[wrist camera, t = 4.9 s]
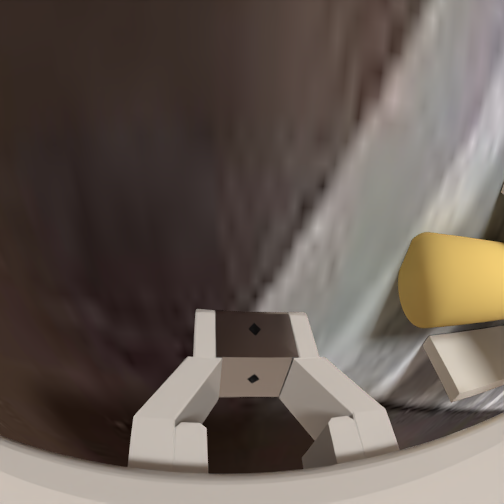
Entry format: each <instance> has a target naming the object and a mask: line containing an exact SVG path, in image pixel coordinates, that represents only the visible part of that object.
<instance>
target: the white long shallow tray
mask: <svg viewBox="0 0 504 504" xmlns="http://www.w3.org/2000/svg"><path fill="white" fill-rule="evenodd" d="M501 193H502V194H504V185H503V188H502V190H501ZM423 348H424V350H425V351H426V353H427V355H428V357H429V359H430V361H431V363H432V365H433V367H434V369H435V371H436V373H437V375H438V377H439V379H440V381H441V383H442V385H443V387H444V389H445V391H446V393H447V395H448V397H449V399H450V401H451V402H454V401H458V400H461V399H464V398H467V397H470V396H473V395H476V394H479V393H482V392H485V391H488V390H491V389H493V388H496V387H499V386H501V385H504V325H503V326H497V327H491V328H484V329H478V330H471V331H464V332H456V333H449V334H440V335H432V336H429V337H428V338H427V340H426V341H425V343H424V344H423Z"/></svg>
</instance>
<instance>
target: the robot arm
mask: <svg viewBox="0 0 504 504" xmlns="http://www.w3.org/2000/svg"><path fill="white" fill-rule="evenodd" d="M219 397H279V399H280V400H281V401H282V402H283V403H284V405H285V406H286V407H287V408H288V410H289V411H290V412H291V413H292V414H293V416H294V417H295V418H296V419H297V420H298V422H299V423H300V424H301V425H302V426H303V427H304V429H305V430H306V431H307V432H308V433H309V435H310V436H311V437H312V438H313V439H314V440H315V441H314V443H313V444H312V445H311V447H310V448H309V449H308V450H307V452H306V453H305V454H304V455H303V457H302V463H303V469H299V470H289V471H278V472H264V473H240V474H208V454H207V428H206V427H205V426H203V425H202V423H203V422H204V420H205V419H206V417H207V416H208V414H209V413H210V411H211V410H212V408H213V407H214V405H215V404H216V402H217V401H218V399H219ZM0 504H504V413H501V414H499V415H497V416H495V417H493V418H490V419H488V420H486V421H484V422H481V423H479V424H476V425H474V426H472V427H469V428H467V429H464V430H461V431H459V432H456V433H453V434H451V435H448V436H445V437H442V438H439V439H436V440H433V441H430V442H427V443H424V444H421V445H417V446H414V447H410V448H407V449H403V450H400V449H399V446H398V443H397V441H396V438H395V435H394V432H393V429H392V426H391V423H390V420H389V418H388V415H387V412H386V409H385V408H384V407H383V406H381V405H380V404H379V403H378V402H377V401H375V400H374V399H373V398H372V397H371V396H369V395H368V394H367V393H366V392H365V391H364V390H362V389H361V388H360V387H359V386H358V385H357V384H355V383H354V382H353V381H352V380H351V379H350V378H348V377H347V376H346V375H345V374H344V373H343V372H341V371H340V370H339V369H338V368H337V367H336V366H334V365H333V364H332V363H331V362H330V361H329V360H328V359H326V358H325V357H319V353H318V350H317V347H316V343H315V340H314V337H313V333H312V330H311V327H310V323H309V320H308V317H307V314H306V313H305V312H287V313H286V312H241V311H224V310H204V309H196V313H195V329H194V350H193V357H187V358H186V359H185V360H184V361H183V362H182V363H181V364H180V366H179V367H178V368H177V369H176V370H175V371H174V372H173V373H172V374H171V376H170V377H169V378H168V379H167V380H166V381H165V382H164V383H163V384H162V386H161V387H160V388H159V389H158V390H157V391H156V392H155V393H154V394H153V395H152V397H151V398H150V399H149V400H148V401H147V402H146V403H145V404H144V405H143V406H142V408H141V409H140V410H139V411H138V412H137V413H136V414H135V415H134V417H133V424H132V432H131V440H130V449H129V458H128V467H123V466H117V465H110V464H105V463H99V462H94V461H89V460H84V459H80V458H75V457H71V456H67V455H63V454H59V453H55V452H51V451H48V450H44V449H40V448H37V447H34V446H31V445H27V444H24V443H21V442H18V441H15V440H12V439H9V438H7V437H4V436H1V435H0Z"/></svg>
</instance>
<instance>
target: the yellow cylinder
mask: <svg viewBox="0 0 504 504" xmlns="http://www.w3.org/2000/svg"><path fill="white" fill-rule="evenodd" d="M398 291H399V298H400V303H401V306H402V309H403V311H404V313H405V315H406V317H407V318H408V320H409V321H410V322H411V323H412V324H413V325H415V326H417V327H419V328H433V327H444V326H454V325H463V324H472V323H480V322H488V321H495V320H502V319H504V243H503V242H496V241H489V240H482V239H475V238H468V237H461V236H453V235H446V234H438V233H430V232H425V233H421V234H419V235H417V236H416V237H414V238H413V239H412V241H411V244H410V246H409V249H408V251H407V254H406V256H405V258H404V261H403V263H402V265H401V268H400V270H399V276H398Z"/></svg>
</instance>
